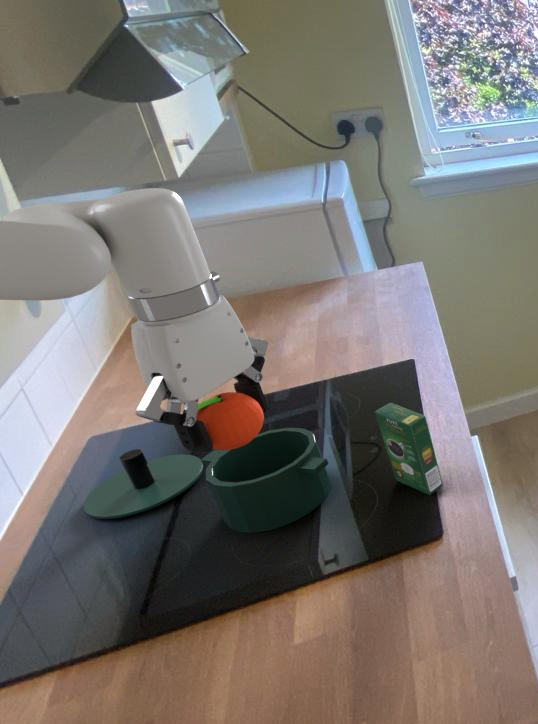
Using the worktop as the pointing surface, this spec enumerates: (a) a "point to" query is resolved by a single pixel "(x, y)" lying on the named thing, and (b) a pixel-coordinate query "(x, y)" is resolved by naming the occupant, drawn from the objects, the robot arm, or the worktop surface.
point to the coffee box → (409, 448)
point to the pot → (268, 480)
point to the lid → (142, 484)
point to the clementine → (230, 419)
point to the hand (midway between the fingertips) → (229, 428)
